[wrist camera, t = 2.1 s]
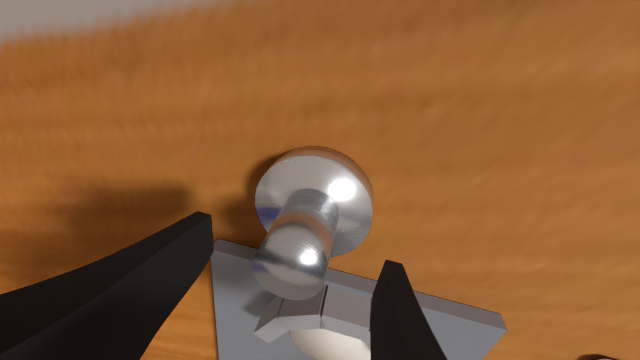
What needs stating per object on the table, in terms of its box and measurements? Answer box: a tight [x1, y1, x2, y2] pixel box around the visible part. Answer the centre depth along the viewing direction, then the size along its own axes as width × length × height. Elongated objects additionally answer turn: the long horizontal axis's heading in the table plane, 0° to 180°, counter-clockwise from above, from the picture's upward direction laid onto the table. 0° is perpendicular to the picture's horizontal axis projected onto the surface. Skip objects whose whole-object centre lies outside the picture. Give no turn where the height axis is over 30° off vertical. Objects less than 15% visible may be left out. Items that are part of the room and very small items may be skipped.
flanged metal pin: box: [252, 146, 374, 300], centre depth 12 cm, size 6×6×6 cm
